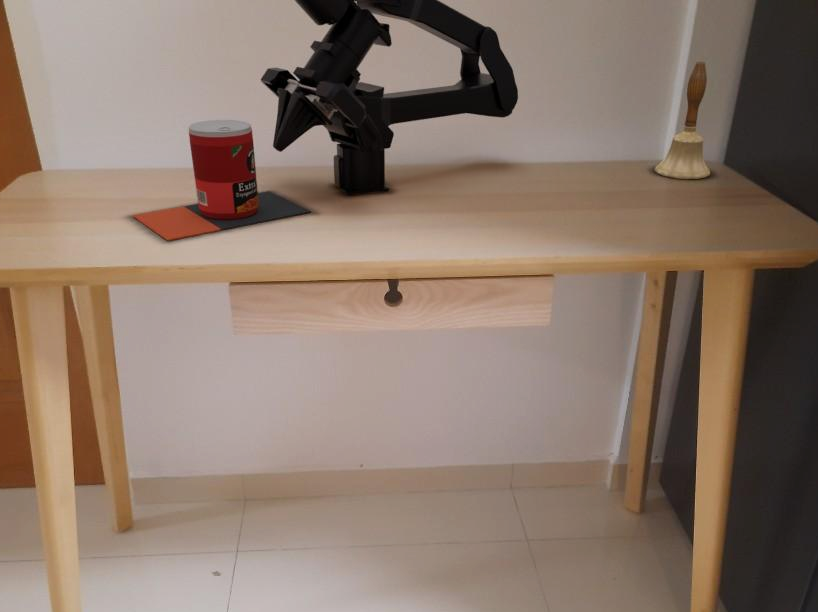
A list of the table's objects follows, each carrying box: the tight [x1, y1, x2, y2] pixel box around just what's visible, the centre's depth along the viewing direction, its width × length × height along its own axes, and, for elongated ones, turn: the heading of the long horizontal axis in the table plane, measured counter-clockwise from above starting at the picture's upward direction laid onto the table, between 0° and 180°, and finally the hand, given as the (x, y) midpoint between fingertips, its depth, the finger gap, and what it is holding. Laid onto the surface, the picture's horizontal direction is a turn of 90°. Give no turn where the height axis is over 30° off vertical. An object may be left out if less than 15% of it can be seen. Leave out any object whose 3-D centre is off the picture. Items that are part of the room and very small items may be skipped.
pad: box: [132, 205, 222, 242], centre depth 99 cm, size 7×12×1 cm, turn 36°
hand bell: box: [654, 61, 711, 180], centre depth 117 cm, size 8×8×16 cm
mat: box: [184, 190, 312, 231], centre depth 104 cm, size 13×12×1 cm
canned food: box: [188, 119, 259, 220], centre depth 100 cm, size 8×8×11 cm
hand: (276, 149), depth 103 cm, fingers closed
